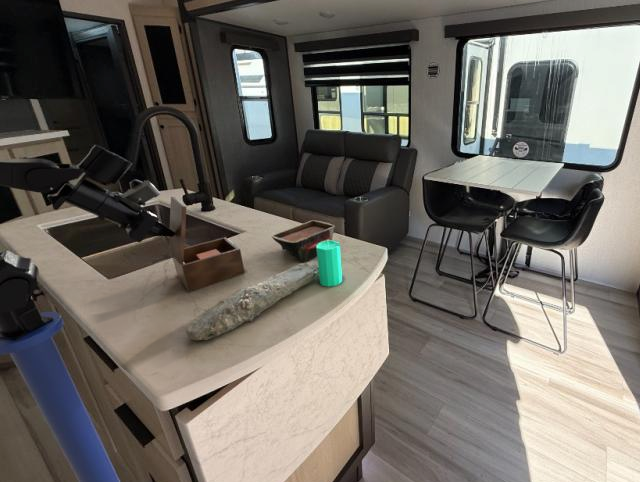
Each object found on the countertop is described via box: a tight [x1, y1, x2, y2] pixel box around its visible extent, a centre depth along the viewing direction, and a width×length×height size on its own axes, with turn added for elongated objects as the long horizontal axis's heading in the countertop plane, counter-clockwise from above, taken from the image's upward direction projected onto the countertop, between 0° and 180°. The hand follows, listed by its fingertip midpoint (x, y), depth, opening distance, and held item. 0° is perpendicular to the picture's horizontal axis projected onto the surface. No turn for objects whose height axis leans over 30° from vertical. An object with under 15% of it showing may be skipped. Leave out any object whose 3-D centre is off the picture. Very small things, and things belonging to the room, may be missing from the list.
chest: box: [171, 236, 245, 293], centre depth 87 cm, size 14×12×7 cm
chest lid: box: [168, 196, 187, 264], centre depth 79 cm, size 14×12×1 cm
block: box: [196, 249, 221, 260], centre depth 87 cm, size 5×5×5 cm
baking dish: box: [271, 219, 336, 263], centre depth 100 cm, size 14×18×10 cm
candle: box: [316, 239, 343, 288], centre depth 83 cm, size 6×6×12 cm
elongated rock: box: [185, 260, 319, 341], centre depth 76 cm, size 35×5×10 cm
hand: (173, 234), depth 79 cm, fingers closed, pressing on chest lid
